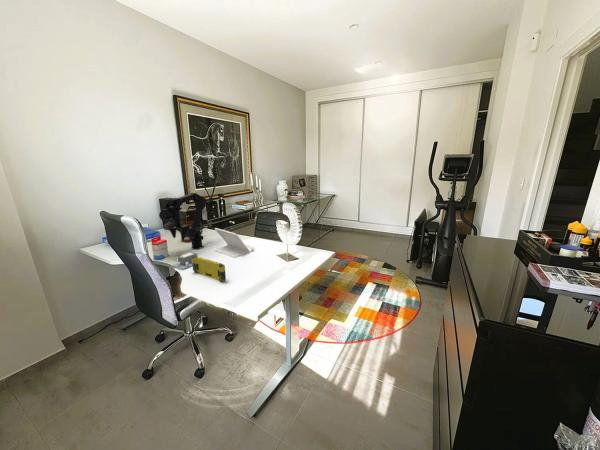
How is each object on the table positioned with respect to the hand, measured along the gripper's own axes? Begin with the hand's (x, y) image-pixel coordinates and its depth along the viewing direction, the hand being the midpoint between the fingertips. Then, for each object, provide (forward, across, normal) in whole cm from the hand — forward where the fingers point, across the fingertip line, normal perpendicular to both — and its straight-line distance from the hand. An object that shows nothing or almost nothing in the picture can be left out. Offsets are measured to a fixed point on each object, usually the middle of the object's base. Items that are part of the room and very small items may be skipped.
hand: (178, 238), depth 169 cm
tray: (+12, +19, -8) cm, 24 cm away
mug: (+12, -23, +29) cm, 39 cm away
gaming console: (+12, +45, -15) cm, 49 cm away
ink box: (+12, -7, -10) cm, 17 cm away
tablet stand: (+12, +27, +25) cm, 39 cm away
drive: (+11, +19, -8) cm, 23 cm away
